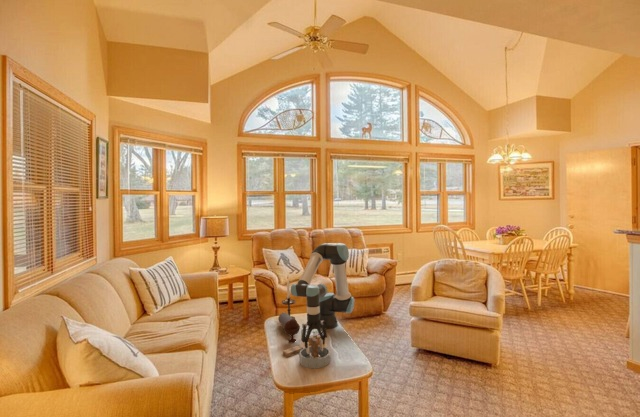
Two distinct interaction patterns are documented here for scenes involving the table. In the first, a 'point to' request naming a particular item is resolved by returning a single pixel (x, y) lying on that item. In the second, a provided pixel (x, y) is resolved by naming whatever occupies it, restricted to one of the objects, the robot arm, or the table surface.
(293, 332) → the ice cream bowl
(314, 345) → the wick slat
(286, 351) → the slat
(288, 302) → the candlestick
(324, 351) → the grey pet bowl
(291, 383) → the table surface
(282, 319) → the bluetooth speaker
